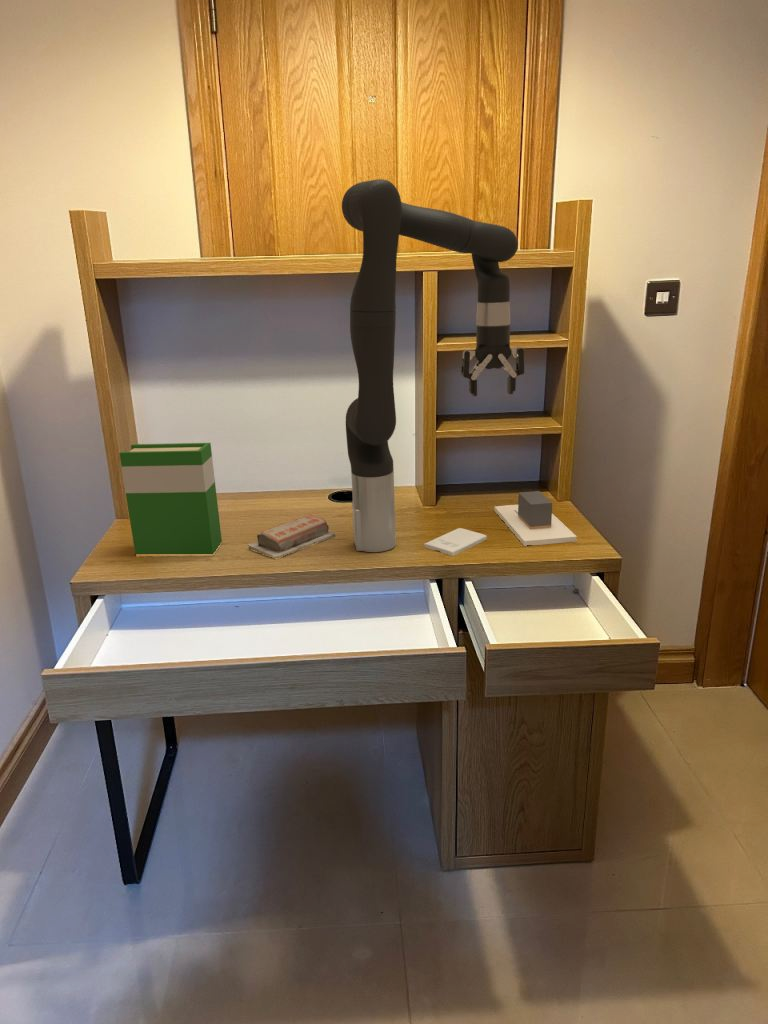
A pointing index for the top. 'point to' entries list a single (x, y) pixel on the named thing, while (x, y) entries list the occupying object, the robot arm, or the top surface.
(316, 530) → the packaged product
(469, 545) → the external hard drive
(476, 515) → the top surface
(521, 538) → the board
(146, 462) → the hardback book
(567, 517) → the top surface
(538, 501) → the block
